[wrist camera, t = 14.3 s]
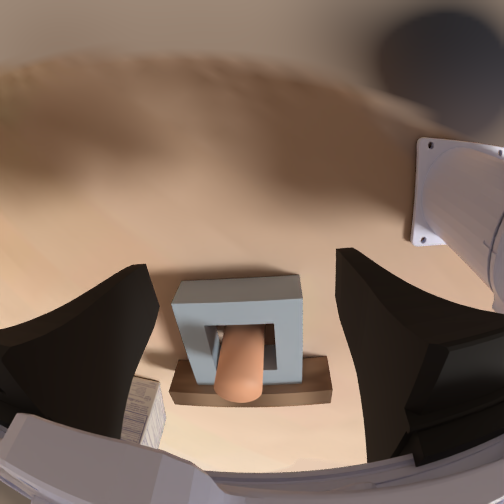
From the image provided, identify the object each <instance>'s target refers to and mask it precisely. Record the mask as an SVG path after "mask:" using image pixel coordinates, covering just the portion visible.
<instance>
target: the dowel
mask: <svg viewBox="0 0 504 504" xmlns="http://www.w3.org/2000/svg"><path fill="white" fill-rule="evenodd" d="M264 337H265V324H248V325H225V330H224V335H223V340H222V345H221V350H220V356H219V361H218V366H217V371H216V377H215V382H214V390H215V392H216V393H217V394H218V395H219V396H220V397H221V398H223V399H225V400H228V401H231V402H236V403H246V402H251V401H254V400H256V399H257V398H259V397H260V396H261V394H262V386H263V362H264Z"/></svg>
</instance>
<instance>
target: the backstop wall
mask: <svg viewBox="0 0 504 504" xmlns="http://www.w3.org/2000/svg"><path fill="white" fill-rule="evenodd" d="M332 390H333V389H332V383H331V377H330V371H329V365H328V360H327V356H325V357H313V358H302V383H300V384H282V385H263V386H262V394H261V396H260V397H259V398H257V399H256V400H254V401H251V402H246V403H236V402H231V401H228V400H225V399H223V398H221V397H220V396H219V395H218V394H217V393H216V392H215V390H214V385H198V384H197V381H196V378H195V376H194V373H193V370H192V367H191V364H190V361H189V360H179V361H178V364H177V367H176V370H175V373H174V377H173V380H172V383H171V386H170V389H169V393H170V395H171V397H172V399H173V401H174V403H175V404H178V405H192V406H210V407H281V406H299V405H313V404H324V403H331V397H332Z"/></svg>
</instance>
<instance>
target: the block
mask: <svg viewBox="0 0 504 504" xmlns="http://www.w3.org/2000/svg"><path fill="white" fill-rule="evenodd" d="M171 305H172V308H173V312H174V315H175V318H176V322H177V325H178V328H179V331H180V334H181V337H182V340H183V344H184V347H185V350H186V353H187V356H188V358H189V361H190V364H191V367H192V370H193V373H194V376H195V378H196V381H197V384H198V385H214V382H215V377H216V371H217V366H218V361H219V356H220V350H221V345H220V341H219V337H218V332H217V328H216V325H248V324H271V323H274V330H275V344H276V345H264V362H263V385H282V384H300V383H302V357H303V297H302V290H301V283H300V277H299V275H289V276H272V277H255V278H236V279H216V280H193V281H181V283H180V286H179V288H178V290H177V292H176V294H175V296H174V299H173V301H172V303H171Z"/></svg>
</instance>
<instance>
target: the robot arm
mask: <svg viewBox="0 0 504 504" xmlns="http://www.w3.org/2000/svg"><path fill="white" fill-rule="evenodd" d="M429 142H431V144H432V146H431V148H429V147H428V143H429ZM498 151H499V155H498ZM422 237H424V240H423V241H421V238H422ZM410 240H411V243H412V244H413V245H414V246H430V245H445V244H447V245H448V246H449V247H450V248H451V249H452V250H453V251H454V252H455V253H456V254H457V255H458V256H459V257H460V258H461V259H462V260H463V261H464V262H465V263H466V264H467V265H468V266H469V267H470V268H471V269H472V270H473V271H474V272H475V273H476V274H477V275H478V276H479V277H480V278H481V280H482V281H483V282H484V283H485V284H486V285H487V286H488V287H489V288H490V289H491V291H492V292H493V293H494V302H493V305H492V308H493V309H494V311H495V312H496V313H495V312H490V311H484V310H479V309H475V308H471V307H467V306H464V305H460V304H457V303H454V302H451V301H448V300H445V299H443V298H440V297H437V296H435V295H432V294H430V293H428V292H425V291H423V290H421V289H419V288H417V287H415V286H413V285H411V284H409V283H407V282H405V281H404V280H402V279H400V278H398V277H397V276H395V275H393V274H392V273H390V272H389V271H387V270H385V269H384V268H382V267H381V266H379V265H378V264H376V263H375V262H374V261H372V260H371V259H369V258H368V257H366V256H365V255H364V254H362V253H361V252H359V251H358V250H356V249H354V248H340V249H336V285H335V298H336V303H337V308H338V313H339V318H340V321H341V324H342V328H343V331H344V334H345V337H346V340H347V343H348V346H349V349H350V352H351V355H352V358H353V362H354V365H355V369H356V373H357V378H358V384H359V389H360V395H361V402H362V410H363V417H364V427H365V437H366V450H367V463H366V464H360V465H354V466H348V467H341V468H332V469H324V470H315V471H301V472H283V473H235V472H216V471H204V470H202V469H200V468H199V467H198V466H196V465H195V464H193V463H192V462H190V461H188V460H185V459H183V458H180V457H178V456H175V455H173V454H170V453H168V452H166V451H163V450H160V449H156V448H152V447H148V446H144V445H141V444H137V443H134V442H129V441H124V440H120V439H121V432H122V425H123V418H124V413H125V408H126V403H127V399H128V395H129V391H130V387H131V383H132V380H133V377H134V374H135V371H136V368H137V366H138V364H139V361H140V359H141V357H142V354H143V352H144V350H145V347H146V345H147V343H148V340H149V338H150V336H151V333H152V331H153V329H154V326H155V322H156V319H157V315H158V311H159V307H160V306H159V303H158V300H157V297H156V294H155V291H154V288H153V285H152V282H151V279H150V276H149V272H148V269H147V266H146V264H137V265H131V266H129V267H127V268H125V269H123V270H121V271H119V272H118V273H116V274H114V275H113V276H111V277H109V278H108V279H106V280H105V281H103V282H102V283H100V284H98V285H97V286H95V287H94V288H92V289H90V290H89V291H87V292H86V293H84V294H82V295H81V296H79V297H77V298H76V299H74V300H72V301H71V302H69V303H67V304H65V305H63V306H61V307H59V308H57V309H55V310H53V311H51V312H49V313H47V314H44V315H42V316H39V317H37V318H35V319H32V320H30V321H27V322H24V323H21V324H18V325H15V326H12V327H8V328H5V329H0V480H1V481H2V482H4V483H5V484H7V485H8V486H10V487H11V488H13V489H14V490H16V491H17V492H19V493H20V494H22V495H24V496H25V497H27V498H28V499H30V500H32V501H31V504H503V503H504V147H501V146H495V145H489V144H482V143H475V142H467V141H458V140H449V139H438V138H426V137H422V138H419V139H418V141H417V161H416V184H415V199H414V211H413V221H412V230H411V239H410Z"/></svg>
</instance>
